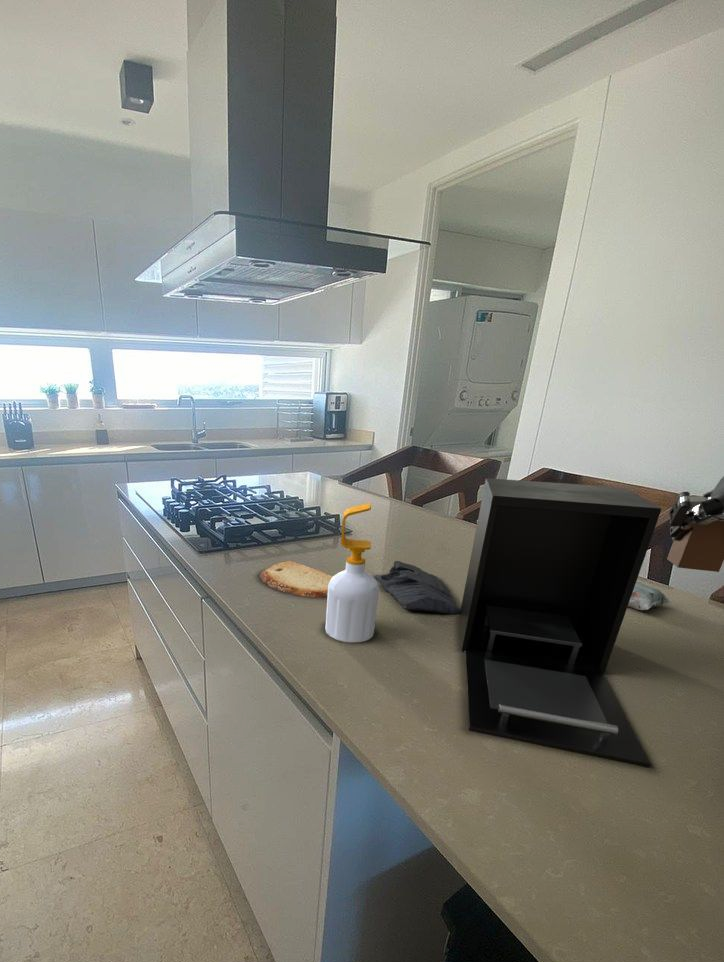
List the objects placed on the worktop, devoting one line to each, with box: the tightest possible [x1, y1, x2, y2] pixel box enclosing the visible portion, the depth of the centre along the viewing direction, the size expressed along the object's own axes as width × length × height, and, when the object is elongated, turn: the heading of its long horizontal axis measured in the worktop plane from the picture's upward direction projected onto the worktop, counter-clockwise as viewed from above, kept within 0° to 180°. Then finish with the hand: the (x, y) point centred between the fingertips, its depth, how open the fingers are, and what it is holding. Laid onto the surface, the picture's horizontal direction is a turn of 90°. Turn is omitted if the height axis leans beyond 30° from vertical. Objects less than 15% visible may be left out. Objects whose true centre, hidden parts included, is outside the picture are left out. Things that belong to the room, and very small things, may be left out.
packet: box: [666, 516, 724, 573], centre depth 77 cm, size 6×4×8 cm
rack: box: [483, 605, 582, 664], centre depth 87 cm, size 14×11×4 cm
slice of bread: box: [259, 560, 333, 598], centre depth 113 cm, size 18×18×4 cm
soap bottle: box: [325, 502, 380, 644], centre depth 87 cm, size 9×9×25 cm
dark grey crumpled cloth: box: [374, 560, 461, 615], centre depth 108 cm, size 15×22×5 cm
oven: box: [459, 477, 662, 769], centre depth 74 cm, size 22×38×28 cm, turn 162°
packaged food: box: [627, 581, 671, 611], centre depth 105 cm, size 9×12×5 cm
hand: (696, 537), depth 79 cm, fingers closed on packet, 5 cm apart
